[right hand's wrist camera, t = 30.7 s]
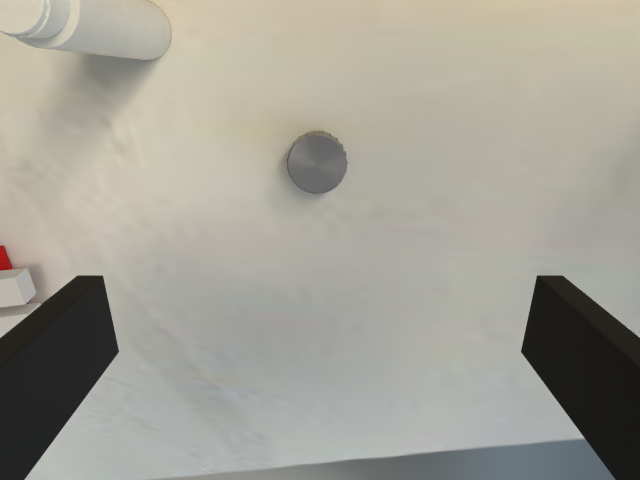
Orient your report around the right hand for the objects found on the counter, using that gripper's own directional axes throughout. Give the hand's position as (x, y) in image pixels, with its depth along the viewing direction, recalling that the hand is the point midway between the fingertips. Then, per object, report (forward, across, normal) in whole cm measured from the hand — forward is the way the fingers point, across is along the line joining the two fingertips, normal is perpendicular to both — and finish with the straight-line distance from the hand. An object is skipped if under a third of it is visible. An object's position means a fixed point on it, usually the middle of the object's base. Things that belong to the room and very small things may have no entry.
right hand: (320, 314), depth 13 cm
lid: (+24, 0, 0) cm, 24 cm away
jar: (+26, +14, -10) cm, 32 cm away
